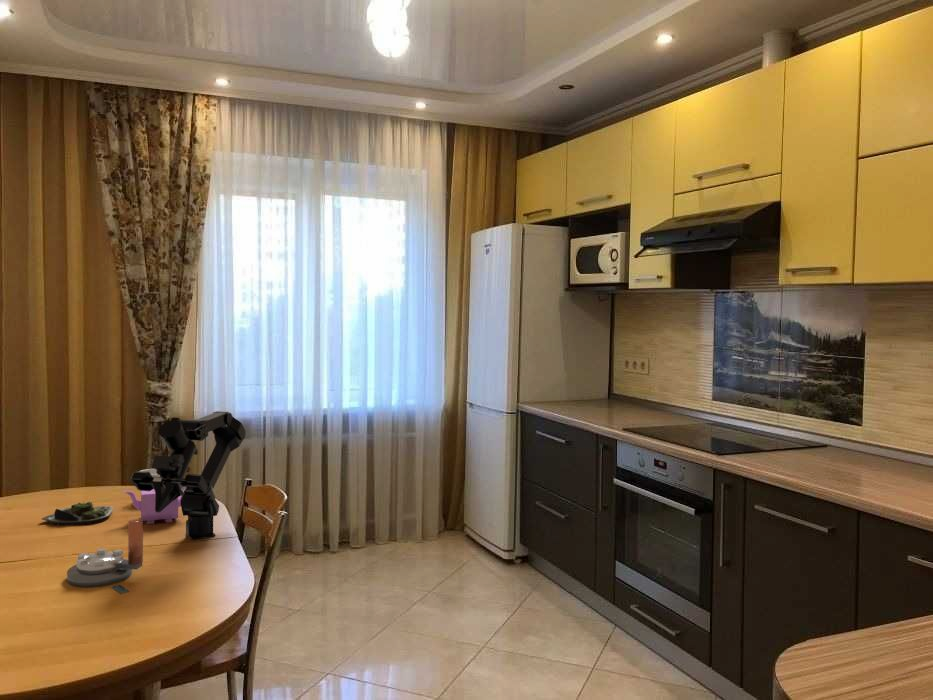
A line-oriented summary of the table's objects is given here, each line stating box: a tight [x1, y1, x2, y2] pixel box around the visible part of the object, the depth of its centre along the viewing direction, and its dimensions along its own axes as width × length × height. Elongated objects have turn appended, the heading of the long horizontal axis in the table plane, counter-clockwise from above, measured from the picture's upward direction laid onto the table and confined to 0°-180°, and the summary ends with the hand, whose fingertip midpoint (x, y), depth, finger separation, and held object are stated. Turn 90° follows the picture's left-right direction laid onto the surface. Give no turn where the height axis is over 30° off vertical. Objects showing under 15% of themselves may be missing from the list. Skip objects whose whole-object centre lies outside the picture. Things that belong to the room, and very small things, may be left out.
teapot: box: [123, 489, 185, 525], centre depth 217 cm, size 15×13×11 cm
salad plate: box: [41, 501, 114, 526], centre depth 218 cm, size 19×18×5 cm
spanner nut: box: [76, 518, 144, 574], centre depth 171 cm, size 16×10×12 cm, turn 84°
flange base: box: [66, 558, 133, 594], centre depth 169 cm, size 14×21×2 cm, turn 39°
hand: (157, 511), depth 179 cm, fingers closed
